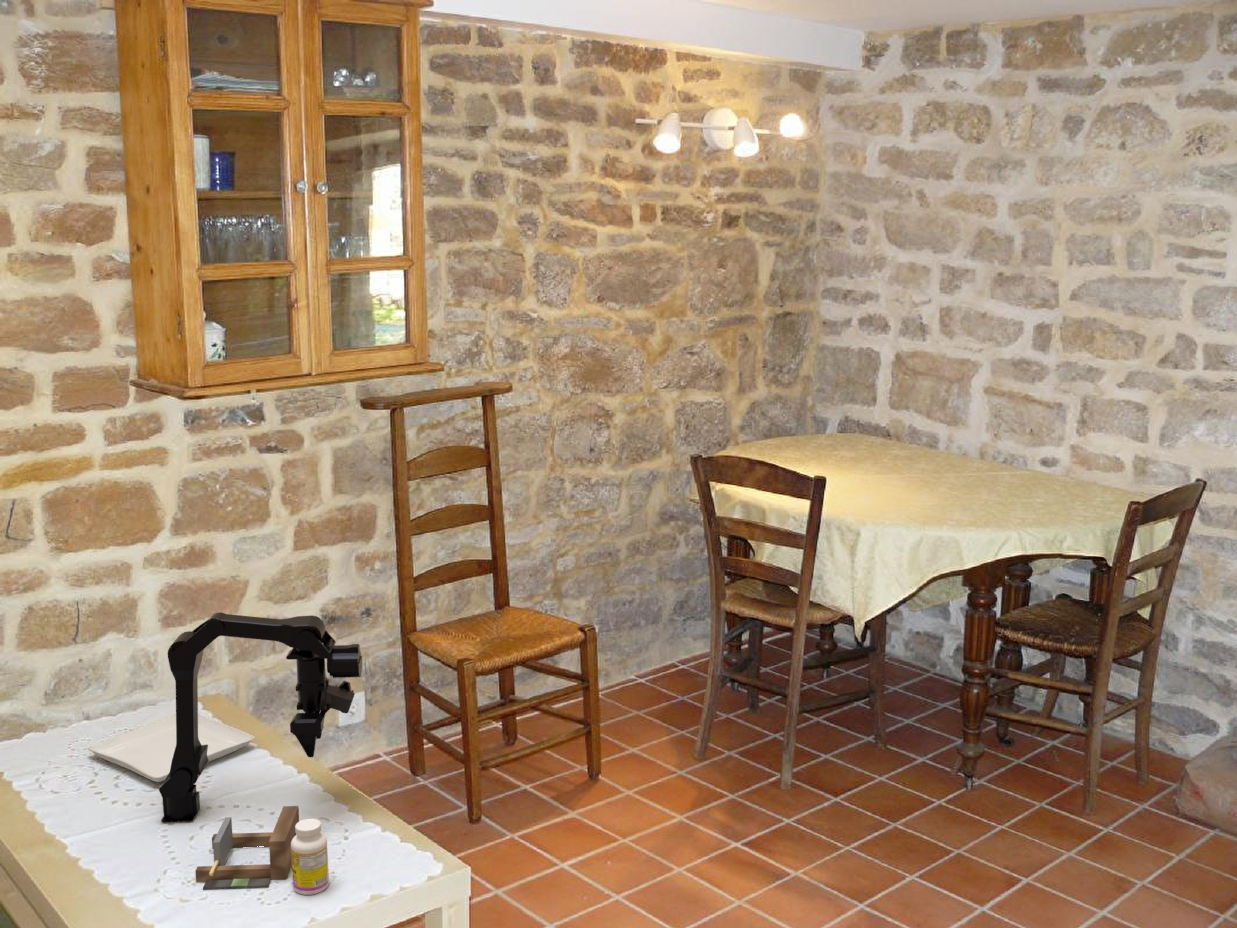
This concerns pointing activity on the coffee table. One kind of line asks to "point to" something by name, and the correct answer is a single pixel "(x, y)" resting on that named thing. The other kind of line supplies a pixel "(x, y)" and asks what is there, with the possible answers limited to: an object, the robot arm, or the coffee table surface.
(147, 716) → the coffee table surface
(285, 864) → the brown wooden frame
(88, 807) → the coffee table surface
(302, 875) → the supplement bottle
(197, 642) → the robot arm
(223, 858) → the pad
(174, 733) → the square plate
